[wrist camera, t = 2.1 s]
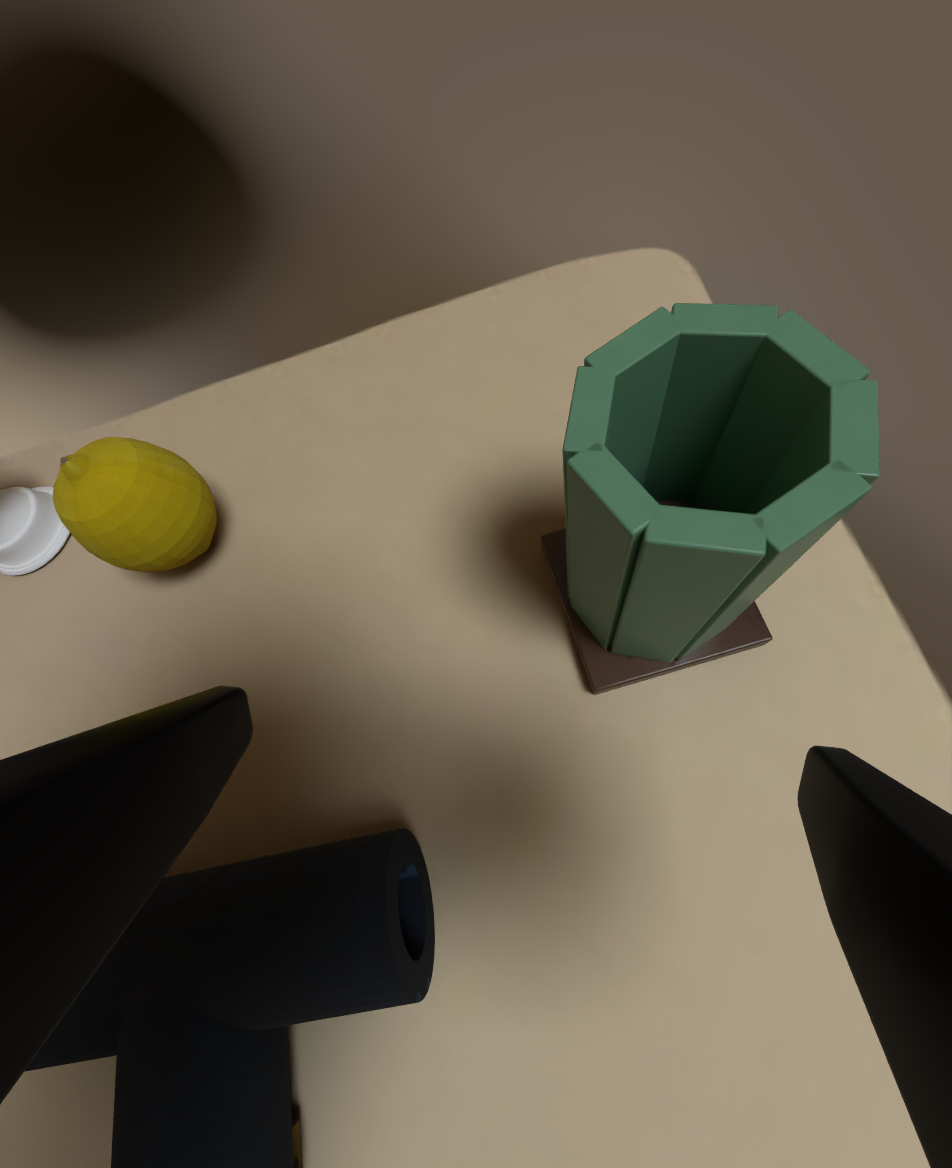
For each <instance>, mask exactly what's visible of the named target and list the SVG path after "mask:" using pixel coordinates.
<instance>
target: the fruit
mask: <svg viewBox="0 0 952 1168" xmlns="http://www.w3.org/2000/svg"><path fill="white" fill-rule="evenodd" d="M60 467H61V470H60V472H59V474H58V477H57V479H56V482H55V484H54V488H53V498H52V499H53V503H54V507H55V510H56V512H57V514H58V516H59V518H60V520H61V522H62V523H63V524H64V525H65V527H66V528H67V529H68V530H69V532H70V533H71V534H72V535H73V537H74V538H75V539H76V540H77V542H79V543H80V544H81V545H82V546H83V547H84V548H85V549H86V550H87V551H88V552H90V553H92V554H93V555H95V556H96V557H98V558H100V559H101V560H103V561H105V562H108V563H110V564H112V565H114V566H117V567H120V568H123V569H127V570H133V571H144V572H157V571H164V570H168V569H172V568H176V567H179V566H183V565H185V564H186V563H188V562H190V561H192V560H193V559H195V558H196V557H197V556H198V555H201V554H202V553H204V552H205V551H206V550H207V549H208V548H209V546H210V544H211V539H212V537H213V534H214V531H215V527H216V506H215V503H214V499H213V496H212V494H211V491H210V489H209V486H208V485H207V483H206V482H205V480H204V479H203V477H202V476H201V475H200V474H199V473H198V472H197V471H196V470H195V469H194V468H193V467H192V466H191V465H190V464H189V463H188V462H187V461H186V460H184V459H183V458H181V457H180V456H178V455H177V454H175V453H173V452H171V451H169V450H166V449H164V448H161V447H159V446H156V445H153V444H150V443H147V442H144V441H140V440H136V439H130V438H119V437H107V438H103V439H100V440H96V441H93V442H92V443H90V444H88V445H86V446H84V447H83V448H81V449H80V450H78V451H77V452H76V453H74V454H73V455H68V456H66V457H62V458H61V464H60Z"/></svg>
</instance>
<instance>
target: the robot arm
mask: <svg viewBox="0 0 952 1168" xmlns="http://www.w3.org/2000/svg"><path fill="white" fill-rule="evenodd" d="M252 735H253V725H252V719H251V714H250V708H249V703H248V698H247V694H246V692H245V691H244V690H243V689H242V688H239V687H230V686H218V687H215V688H212V689H209V690H206V691H203V692H200V693H197V694H194V695H191V696H188V697H185V698H182V699H179V700H176V701H173V702H170V703H168V704H165V705H162V706H159V707H156V708H153V709H150V710H147V711H144V712H141V713H138V714H135V715H132V716H129V717H126V718H123V719H120V720H117V721H114V722H111V723H108V724H105V725H103V726H100V727H97V728H94V729H91V730H88V731H85V732H82V733H79V734H76V735H73V736H70V737H67V738H64V739H61V740H58V741H55V742H52V743H49V744H46V745H43V746H40V747H38V748H35V749H32V750H29V751H26V752H23V753H20V754H17V755H14V756H11V757H8V758H5V759H2V760H0V1104H1V1103H2V1101H3V1100H4V1099H5V1097H6V1096H7V1094H8V1093H9V1092H10V1090H11V1089H12V1087H13V1086H14V1085H15V1083H16V1082H17V1080H18V1079H19V1078H20V1076H21V1075H22V1073H23V1072H24V1071H25V1069H26V1068H27V1067H28V1065H29V1064H30V1062H31V1061H32V1060H33V1058H34V1057H35V1055H36V1054H37V1053H38V1051H39V1050H40V1048H41V1047H42V1046H43V1044H44V1043H45V1041H46V1040H47V1039H48V1037H49V1036H50V1034H51V1033H52V1032H53V1030H54V1029H55V1028H56V1026H57V1025H58V1023H59V1022H60V1021H61V1019H62V1018H63V1016H64V1015H65V1014H66V1012H67V1011H68V1009H69V1008H70V1007H71V1005H72V1004H73V1002H74V1001H75V1000H76V998H77V997H78V995H79V994H80V993H81V991H82V990H83V988H84V987H85V986H86V984H87V983H88V982H89V980H90V979H91V977H92V976H93V975H94V973H95V972H96V970H97V969H98V968H99V966H100V965H101V963H102V962H103V961H104V959H105V958H106V956H107V955H108V954H109V952H110V951H111V949H112V948H113V947H114V945H115V944H116V942H117V941H118V940H119V938H120V937H121V936H122V934H123V933H124V931H125V930H126V929H127V927H128V926H129V924H130V923H131V922H132V920H133V919H134V917H135V916H136V915H137V913H138V912H139V910H140V909H141V908H142V906H143V905H144V903H145V902H146V901H147V899H148V898H149V896H150V895H151V894H152V892H153V891H154V890H155V888H156V887H157V885H158V884H159V883H160V881H161V880H162V878H163V877H164V876H165V874H166V873H167V871H168V870H169V869H170V867H171V866H172V864H173V863H174V862H175V860H176V859H177V857H178V856H179V855H180V853H181V852H182V851H183V849H184V848H185V846H186V845H187V844H188V842H189V841H190V839H191V838H192V837H193V835H194V834H195V832H196V831H197V830H198V828H199V827H200V825H201V824H202V822H203V821H204V819H205V818H206V816H207V815H208V813H209V811H210V810H211V808H212V806H213V805H214V803H215V801H216V800H217V798H218V796H219V795H220V793H221V791H222V790H223V788H224V786H225V784H226V783H227V781H228V779H229V778H230V776H231V774H232V772H233V771H234V769H235V767H236V766H237V764H238V762H239V761H240V759H241V757H242V755H243V754H244V752H245V750H246V749H247V747H248V745H249V743H250V741H251V738H252ZM798 807H799V812H800V815H801V819H802V822H803V826H804V829H805V833H806V836H807V840H808V843H809V847H810V851H811V854H812V858H813V861H814V865H815V868H816V872H817V875H818V879H819V882H820V886H821V889H822V893H823V896H824V900H825V903H826V906H827V909H828V913H829V916H830V918H831V921H832V924H833V926H834V929H835V932H836V934H837V937H838V939H839V942H840V944H841V947H842V949H843V952H844V954H845V957H846V959H847V962H848V964H849V967H850V969H851V972H852V974H853V977H854V979H855V982H856V984H857V986H858V989H859V991H860V994H861V996H862V999H863V1001H864V1004H865V1006H866V1009H867V1011H868V1014H869V1016H870V1019H871V1021H872V1024H873V1026H874V1029H875V1031H876V1034H877V1036H878V1038H879V1041H880V1043H881V1046H882V1048H883V1051H884V1053H885V1056H886V1058H887V1061H888V1063H889V1066H890V1068H891V1071H892V1073H893V1076H894V1078H895V1081H896V1083H897V1086H898V1088H899V1090H900V1093H901V1095H902V1098H903V1100H904V1103H905V1105H906V1108H907V1110H908V1113H909V1115H910V1118H911V1120H912V1123H913V1125H914V1128H915V1130H916V1133H917V1135H918V1138H919V1140H920V1142H921V1145H922V1147H923V1150H924V1152H925V1155H926V1157H927V1160H928V1162H929V1165H930V1167H931V1168H952V815H951V814H949V813H948V812H946V811H945V810H943V809H941V808H940V807H938V806H937V805H935V804H933V803H932V802H930V801H928V800H927V799H925V798H924V797H922V796H920V795H919V794H917V793H915V792H914V791H912V790H911V789H909V788H907V787H906V786H904V785H902V784H901V783H899V782H898V781H896V780H894V779H893V778H891V777H889V776H888V775H886V774H885V773H883V772H881V771H880V770H878V769H876V768H875V767H873V766H872V765H870V764H868V763H867V762H865V761H863V760H862V759H860V758H859V757H857V756H855V755H854V754H852V753H850V752H849V751H847V750H845V749H842V748H835V747H825V746H813V747H811V748H810V749H809V751H808V753H807V755H806V759H805V764H804V768H803V773H802V777H801V781H800V786H799V790H798Z"/></svg>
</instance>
